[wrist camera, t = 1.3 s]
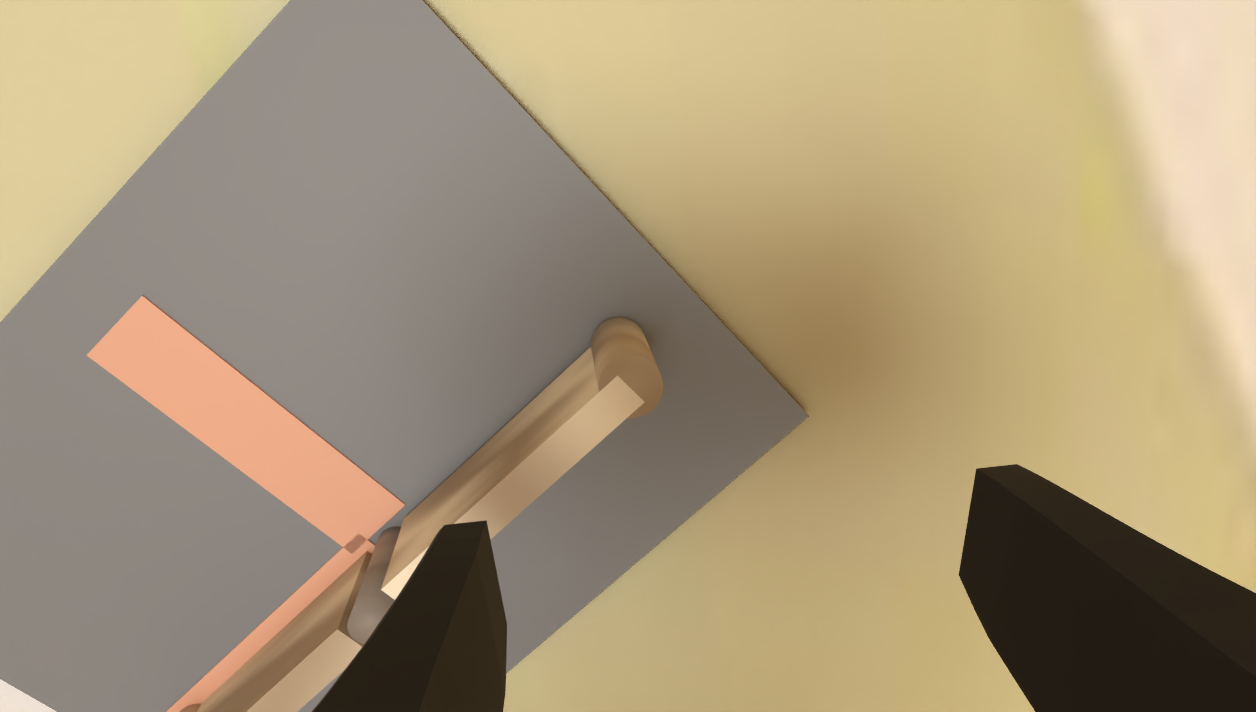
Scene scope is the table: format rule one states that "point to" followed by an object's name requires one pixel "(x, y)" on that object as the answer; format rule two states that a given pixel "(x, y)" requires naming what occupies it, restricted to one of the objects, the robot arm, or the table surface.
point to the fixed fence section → (312, 641)
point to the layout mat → (331, 366)
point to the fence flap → (537, 443)
